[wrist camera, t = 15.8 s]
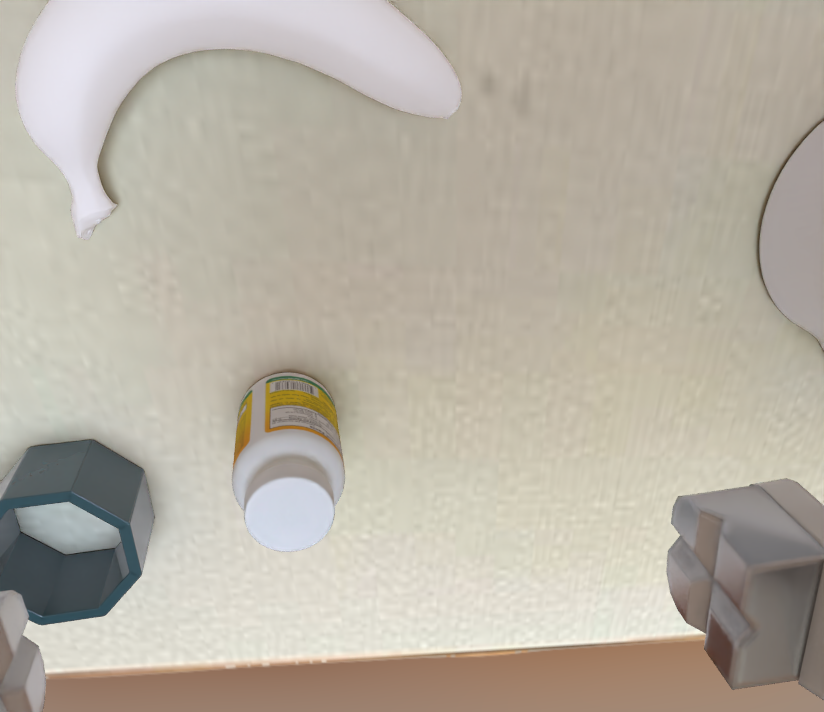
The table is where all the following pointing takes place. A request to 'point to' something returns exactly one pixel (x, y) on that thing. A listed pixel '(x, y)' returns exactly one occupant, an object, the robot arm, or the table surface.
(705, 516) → the robot arm
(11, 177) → the table surface
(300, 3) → the banana
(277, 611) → the table surface
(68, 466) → the holder
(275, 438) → the supplement bottle
